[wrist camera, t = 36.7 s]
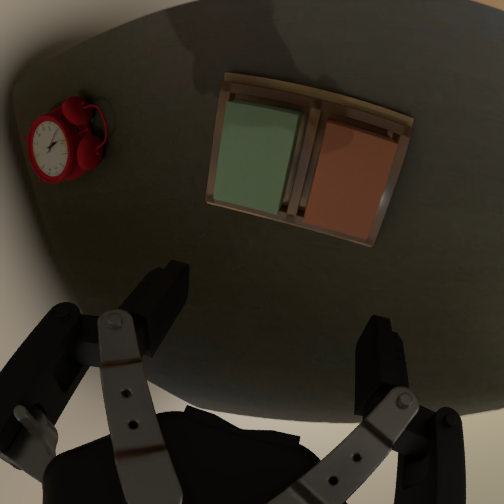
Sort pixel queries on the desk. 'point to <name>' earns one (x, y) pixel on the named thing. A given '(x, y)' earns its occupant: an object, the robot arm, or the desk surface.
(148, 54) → the desk surface
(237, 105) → the pad sage
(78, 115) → the alarm clock
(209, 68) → the desk surface
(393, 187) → the divided wooden tray
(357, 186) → the pad terracotta
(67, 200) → the desk surface
